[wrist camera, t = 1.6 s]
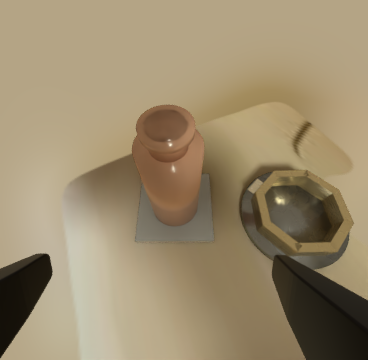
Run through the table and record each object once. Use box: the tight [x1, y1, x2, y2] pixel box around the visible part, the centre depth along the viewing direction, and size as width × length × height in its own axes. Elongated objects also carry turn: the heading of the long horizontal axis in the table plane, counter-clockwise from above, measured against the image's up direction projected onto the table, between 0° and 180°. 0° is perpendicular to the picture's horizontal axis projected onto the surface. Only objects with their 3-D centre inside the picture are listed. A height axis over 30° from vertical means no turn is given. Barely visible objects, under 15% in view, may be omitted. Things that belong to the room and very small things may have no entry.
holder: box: [241, 170, 354, 270], centre depth 22 cm, size 11×11×3 cm
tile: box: [135, 174, 214, 242], centre depth 23 cm, size 8×8×1 cm
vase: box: [132, 105, 204, 226], centre depth 18 cm, size 5×5×12 cm
